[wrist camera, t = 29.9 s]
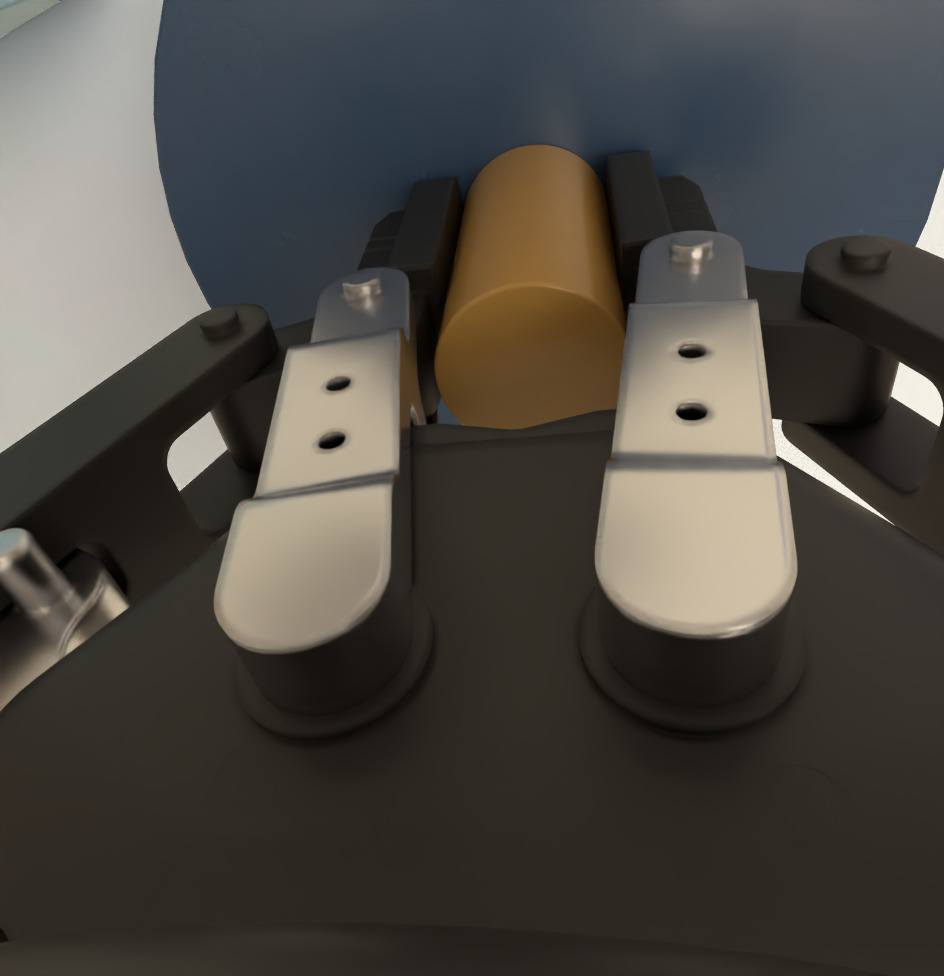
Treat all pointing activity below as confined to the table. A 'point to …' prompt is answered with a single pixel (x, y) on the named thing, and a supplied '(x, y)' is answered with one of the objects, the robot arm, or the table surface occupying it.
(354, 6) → the tin lid
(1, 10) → the light teal block
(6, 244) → the table surface
